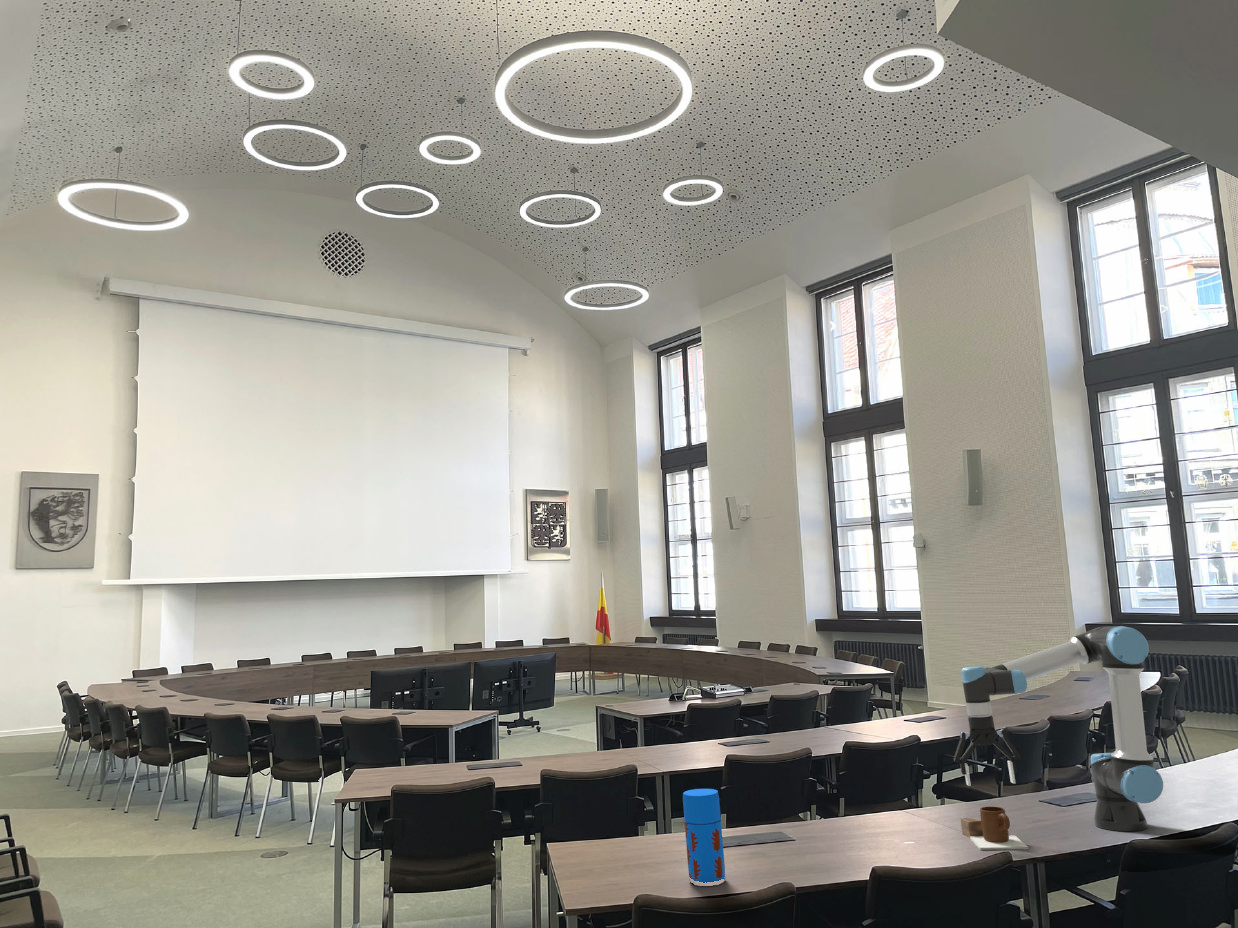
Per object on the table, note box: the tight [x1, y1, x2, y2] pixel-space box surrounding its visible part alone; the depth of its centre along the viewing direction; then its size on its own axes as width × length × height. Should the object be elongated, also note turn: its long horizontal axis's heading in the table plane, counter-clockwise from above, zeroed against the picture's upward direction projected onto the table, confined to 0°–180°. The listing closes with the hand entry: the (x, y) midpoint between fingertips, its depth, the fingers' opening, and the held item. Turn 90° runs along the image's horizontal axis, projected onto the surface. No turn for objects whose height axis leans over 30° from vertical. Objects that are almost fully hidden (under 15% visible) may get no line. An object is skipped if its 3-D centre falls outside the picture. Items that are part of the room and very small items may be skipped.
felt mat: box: [969, 834, 1029, 851], centre depth 266 cm, size 14×14×1 cm
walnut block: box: [960, 817, 983, 839], centre depth 277 cm, size 5×5×5 cm
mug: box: [979, 806, 1011, 843], centre depth 267 cm, size 12×8×9 cm, turn 8°
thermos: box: [682, 788, 726, 883], centre depth 250 cm, size 11×11×25 cm
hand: (990, 783), depth 269 cm, fingers open, 13 cm apart
